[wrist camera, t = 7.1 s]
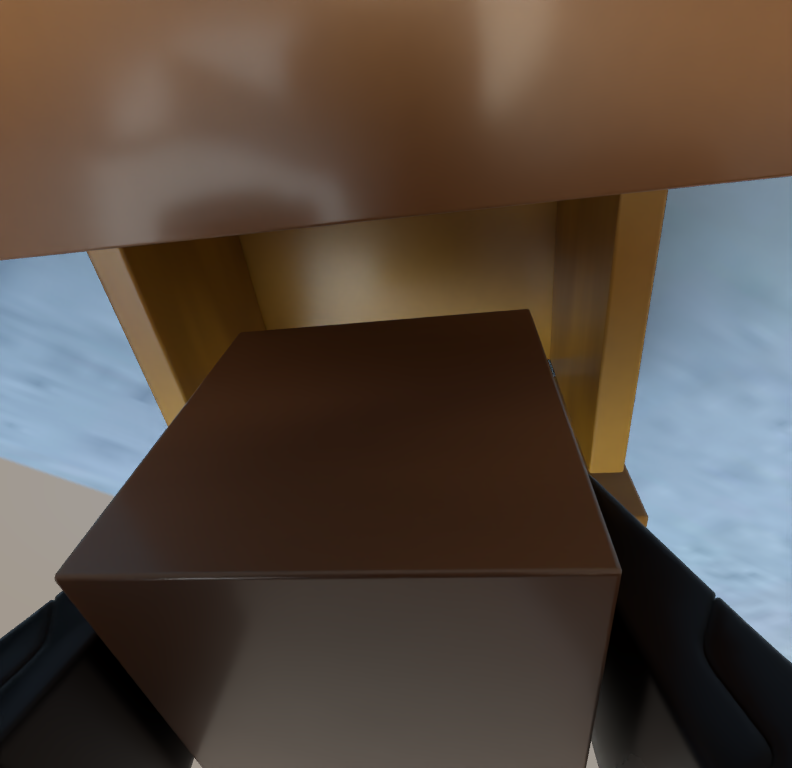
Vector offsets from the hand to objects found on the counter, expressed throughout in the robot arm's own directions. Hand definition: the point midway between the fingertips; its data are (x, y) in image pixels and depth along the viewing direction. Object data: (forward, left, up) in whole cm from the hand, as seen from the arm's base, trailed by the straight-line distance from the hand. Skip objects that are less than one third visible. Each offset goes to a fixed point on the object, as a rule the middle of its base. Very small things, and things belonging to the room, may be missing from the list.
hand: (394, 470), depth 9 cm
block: (0, 0, -1) cm, 1 cm away
